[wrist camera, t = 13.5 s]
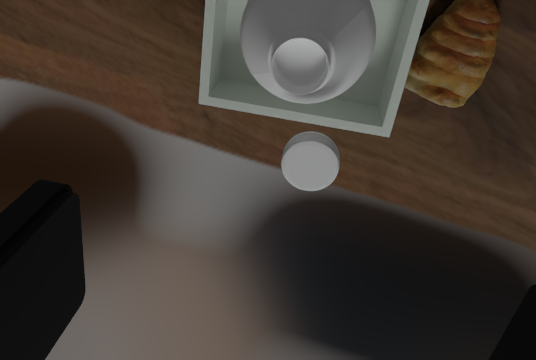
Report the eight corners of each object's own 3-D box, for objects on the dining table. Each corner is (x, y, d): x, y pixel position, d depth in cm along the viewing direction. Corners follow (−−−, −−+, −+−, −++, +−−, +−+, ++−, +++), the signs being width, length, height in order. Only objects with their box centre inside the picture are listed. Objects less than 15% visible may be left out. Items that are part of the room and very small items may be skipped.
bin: (445, -115, 36) (464, -120, 31) (383, 111, 45) (389, 137, 40) (232, -147, 37) (215, -158, 31) (214, 82, 46) (198, 103, 41)
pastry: (443, -21, 39) (453, -15, 36) (517, 6, 40) (534, 15, 36) (394, 82, 44) (399, 96, 41) (461, 106, 44) (471, 121, 41)
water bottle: (276, -53, 39) (200, -12, 17) (357, -65, 37) (385, -37, 16) (288, 53, 43) (239, 195, 21) (361, 45, 42) (389, 187, 20)
